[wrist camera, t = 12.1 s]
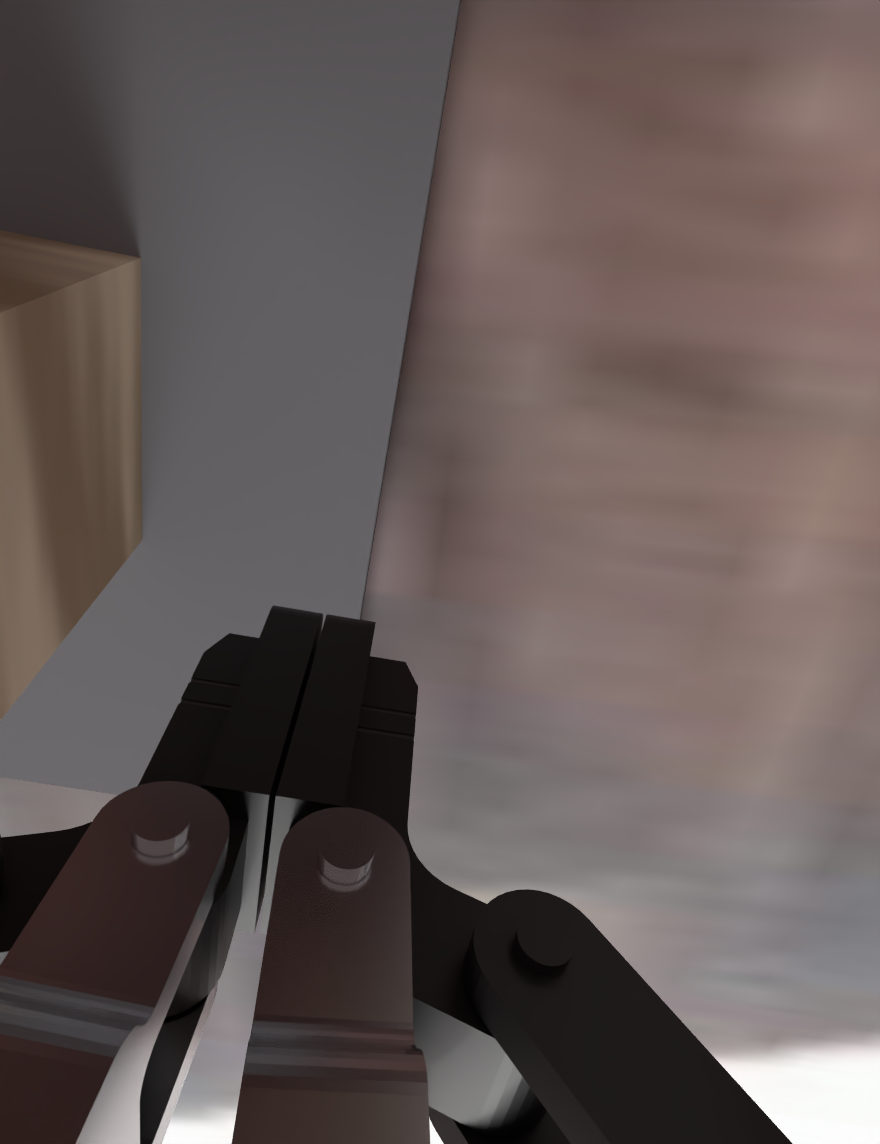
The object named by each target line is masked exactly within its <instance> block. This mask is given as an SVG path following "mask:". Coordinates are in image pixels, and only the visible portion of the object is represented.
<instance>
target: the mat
mask: <svg viewBox="0 0 880 1144" xmlns="http://www.w3.org/2000/svg"><path fill="white" fill-rule="evenodd" d="M460 4H461V0H0V230H2V231H7V232H12V233H18V234H23V235H28V236H33V237H38V238H43V239H48V240H53V241H58V242H63V243H68V244H73V245H78V246H83V247H88V248H94V249H99V250H104V251H109V252H114V253H119V254H124V255H129V256H134V257H139V258H141V408H142V541H141V542H140V543H139V545H138V546H137V547H136V549H135V550H134V551H133V552H132V554H131V555H130V556H129V557H128V559H127V560H126V561H125V563H124V564H123V565H122V566H121V568H120V569H119V570H118V571H117V573H116V574H115V575H114V577H113V578H112V579H111V580H110V582H109V583H108V584H107V585H106V587H105V588H104V589H103V591H102V592H101V593H100V594H99V596H98V597H97V598H96V599H95V601H94V602H93V603H92V605H91V606H90V607H89V608H88V610H87V611H86V612H85V613H84V615H83V616H82V617H81V619H80V620H79V621H78V622H77V624H76V625H75V626H74V628H73V629H72V630H71V631H70V633H69V634H68V635H67V636H66V638H65V639H64V640H63V642H62V643H61V644H60V645H59V647H58V648H57V649H56V650H55V652H54V653H53V654H52V656H51V657H50V658H49V659H48V661H47V662H46V663H45V664H44V666H43V667H42V668H41V670H40V671H39V672H38V673H37V675H36V676H35V677H34V678H33V680H32V681H31V682H30V684H29V685H28V686H27V687H26V689H25V690H24V691H23V692H22V694H21V695H20V696H19V698H18V699H17V700H16V701H15V703H14V704H13V705H12V706H11V708H10V709H9V710H8V712H7V713H6V714H5V715H4V717H3V718H2V719H1V720H0V777H4V778H11V779H17V780H24V781H31V782H37V783H44V784H50V785H57V786H64V787H70V788H77V789H83V790H90V791H97V792H103V793H110V794H116V795H119V794H121V793H123V792H125V791H127V790H129V789H131V788H134V787H137V786H138V784H139V782H140V780H141V778H142V776H143V774H144V772H145V770H146V768H147V766H148V764H149V762H150V760H151V758H152V756H153V754H154V752H155V750H156V748H157V746H158V744H159V742H160V740H161V738H162V736H163V734H164V732H165V730H166V728H167V726H168V724H169V722H170V720H171V718H172V716H173V714H174V712H175V710H176V708H177V706H178V704H180V702H181V697H182V695H183V693H184V691H185V689H186V687H187V685H188V683H189V682H191V677H192V675H193V673H194V671H195V669H196V667H197V665H198V663H199V661H200V659H201V657H202V655H203V653H204V652H205V651H206V650H207V649H209V648H210V647H211V646H213V645H214V644H215V643H217V642H218V641H219V640H221V639H222V638H223V637H225V636H226V635H227V634H229V633H232V634H238V635H244V636H250V637H256V638H259V637H260V635H261V632H262V630H263V627H264V625H265V622H266V620H267V617H268V615H269V612H270V610H271V608H272V606H273V605H275V606H281V607H287V608H293V609H299V610H305V611H311V612H316V613H322V614H323V624H322V628H323V625H324V621H325V618H326V615H327V614H329V615H335V616H341V617H347V618H353V619H359V620H360V619H361V613H362V607H363V600H364V594H365V588H366V582H367V576H368V570H369V564H370V557H371V551H372V545H373V539H374V533H375V527H376V520H377V514H378V508H379V502H380V496H381V490H382V484H383V477H384V471H385V465H386V459H387V453H388V447H389V441H390V434H391V428H392V422H393V416H394V410H395V404H396V398H397V391H398V385H399V379H400V373H401V367H402V361H403V355H404V348H405V342H406V336H407V330H408V324H409V318H410V312H411V305H412V299H413V293H414V287H415V281H416V275H417V268H418V262H419V256H420V250H421V244H422V238H423V232H424V225H425V219H426V213H427V207H428V201H429V195H430V189H431V182H432V176H433V170H434V164H435V158H436V152H437V146H438V139H439V133H440V127H441V121H442V115H443V109H444V103H445V96H446V90H447V84H448V78H449V72H450V66H451V60H452V53H453V47H454V41H455V35H456V29H457V23H458V17H459V10H460Z"/></svg>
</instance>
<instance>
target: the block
mask: <svg viewBox="0 0 880 1144" xmlns="http://www.w3.org/2000/svg"><path fill="white" fill-rule="evenodd" d="M141 541H142V408H141V258H139V257H134V256H129V255H124V254H119V253H114V252H109V251H104V250H99V249H94V248H88V247H83V246H78V245H73V244H68V243H63V242H58V241H53V240H48V239H43V238H38V237H33V236H28V235H23V234H18V233H12V232H7V231H2V230H0V720H1V719H2V718H3V717H4V715H5V714H6V713H7V712H8V710H9V709H10V708H11V706H12V705H13V704H14V703H15V701H16V700H17V699H18V698H19V696H20V695H21V694H22V692H23V691H24V690H25V689H26V687H27V686H28V685H29V684H30V682H31V681H32V680H33V678H34V677H35V676H36V675H37V673H38V672H39V671H40V670H41V668H42V667H43V666H44V664H45V663H46V662H47V661H48V659H49V658H50V657H51V656H52V654H53V653H54V652H55V650H56V649H57V648H58V647H59V645H60V644H61V643H62V642H63V640H64V639H65V638H66V636H67V635H68V634H69V633H70V631H71V630H72V629H73V628H74V626H75V625H76V624H77V622H78V621H79V620H80V619H81V617H82V616H83V615H84V613H85V612H86V611H87V610H88V608H89V607H90V606H91V605H92V603H93V602H94V601H95V599H96V598H97V597H98V596H99V594H100V593H101V592H102V591H103V589H104V588H105V587H106V585H107V584H108V583H109V582H110V580H111V579H112V578H113V577H114V575H115V574H116V573H117V571H118V570H119V569H120V568H121V566H122V565H123V564H124V563H125V561H126V560H127V559H128V557H129V556H130V555H131V554H132V552H133V551H134V550H135V549H136V547H137V546H138V545H139V543H140V542H141Z"/></svg>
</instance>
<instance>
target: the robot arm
mask: <svg viewBox="0 0 880 1144" xmlns="http://www.w3.org/2000/svg"><path fill="white" fill-rule="evenodd" d="M375 623H376V622H371V621H365V620H359V619H353V618H347V617H341V616H335V615H329V614H327V615H326V618H325V621H324V625H323V628H322V624H323V614H322V613H316V612H311V611H305V610H299V609H293V608H287V607H281V606H275V605H273V606H272V608H271V610H270V612H269V615H268V617H267V620H266V622H265V625H264V627H263V630H262V632H261V635H260V637H259V638H256V637H250V636H244V635H238V634H232V633H229V634H227V635H226V636H225V637H223V638H222V639H221V640H219V641H218V642H217V643H215V644H214V645H213V646H211V647H210V648H209V649H207V650H206V651H205V652H204V653H203V655H202V657H201V659H200V661H199V663H198V665H197V667H196V669H195V671H194V673H193V675H192V677H191V682H189V683H188V685H187V687H186V689H185V691H184V693H183V695H182V697H181V702H180V704H178V706H177V708H176V710H175V712H174V714H173V716H172V718H171V720H170V722H169V724H168V726H167V728H166V730H165V732H164V734H163V736H162V738H161V740H160V742H159V744H158V746H157V748H156V750H155V752H154V754H153V756H152V758H151V760H150V762H149V764H148V766H147V768H146V770H145V772H144V774H143V776H142V778H141V780H140V782H139V784H138V786H137V787H134V788H131V789H129V790H127V791H125V792H123V793H121V794H119V795H118V796H116V797H115V798H113V799H112V800H110V801H109V802H108V803H107V804H106V805H105V806H104V807H103V808H102V809H101V810H100V812H99V813H98V814H97V816H96V817H95V818H94V820H93V822H90V823H88V824H85V825H82V826H79V827H75V828H71V829H67V830H61V831H55V832H46V833H38V834H29V835H20V836H12V837H3V838H1V836H0V1144H162V1141H163V1139H164V1136H165V1133H166V1131H167V1128H168V1125H169V1122H170V1120H171V1117H172V1114H173V1111H174V1109H175V1106H176V1103H177V1100H178V1098H179V1095H180V1092H181V1090H182V1087H183V1084H184V1081H185V1079H186V1076H187V1073H188V1070H189V1068H190V1065H191V1062H192V1059H193V1057H194V1054H195V1051H196V1049H197V1046H198V1043H199V1040H200V1038H201V1035H202V1032H203V1029H204V1027H205V1024H206V1021H207V1018H208V1016H209V1013H210V1010H211V1008H212V1005H213V1002H214V999H215V996H216V992H217V985H218V980H219V978H220V976H221V974H222V971H223V968H224V965H225V961H226V958H227V954H228V951H229V947H230V944H231V940H232V937H233V933H234V931H240V932H247V933H255V929H256V925H257V921H258V917H259V913H260V910H261V906H262V902H263V898H264V903H263V912H262V921H261V930H260V934H264V935H266V942H265V948H264V954H263V961H262V967H261V973H260V980H259V986H258V992H257V999H256V1005H255V1012H254V1018H253V1024H252V1030H251V1036H250V1040H249V1042H248V1047H247V1053H246V1059H245V1065H244V1071H243V1077H242V1083H241V1089H240V1095H239V1102H238V1108H237V1114H236V1120H235V1127H234V1133H233V1139H232V1144H430V1130H429V1117H430V1120H431V1122H432V1124H433V1126H434V1128H435V1130H436V1131H437V1133H438V1135H439V1136H440V1138H441V1140H442V1141H443V1143H444V1144H792V1143H791V1142H790V1140H789V1139H788V1138H787V1137H786V1136H785V1135H784V1134H783V1133H782V1132H781V1130H780V1129H779V1128H778V1127H777V1126H776V1125H775V1124H774V1123H773V1122H772V1121H771V1119H770V1118H769V1117H768V1116H767V1115H766V1114H765V1113H764V1112H763V1111H762V1110H761V1108H760V1107H759V1106H758V1105H757V1104H756V1103H755V1102H754V1101H753V1100H752V1099H751V1097H750V1096H749V1095H748V1094H747V1093H746V1092H745V1091H744V1090H743V1089H742V1088H741V1086H740V1085H739V1084H738V1083H737V1082H736V1081H735V1080H734V1079H733V1078H732V1077H731V1075H730V1074H729V1073H728V1072H727V1071H726V1070H725V1069H724V1068H723V1067H722V1066H721V1064H720V1063H719V1062H718V1061H717V1060H716V1059H715V1058H714V1057H713V1056H712V1055H711V1053H710V1052H709V1051H708V1050H707V1049H706V1048H705V1047H704V1046H703V1045H702V1044H701V1042H700V1041H699V1040H698V1039H697V1038H696V1037H695V1036H694V1035H693V1034H692V1032H691V1031H690V1030H689V1029H688V1028H687V1027H686V1026H685V1025H684V1024H683V1023H682V1021H681V1020H680V1019H679V1018H678V1017H677V1016H676V1015H675V1014H674V1013H673V1012H672V1010H671V1009H670V1008H669V1007H668V1006H667V1005H666V1004H665V1003H664V1002H663V1001H662V999H661V998H660V997H659V996H658V995H657V994H656V993H655V992H654V991H653V990H652V988H651V987H650V986H649V985H648V984H647V983H646V982H645V981H644V980H643V979H642V977H641V976H640V975H639V974H638V973H637V972H636V971H635V970H634V969H633V968H632V966H631V965H630V964H629V963H628V962H627V961H626V960H625V959H624V958H623V957H622V955H621V954H620V953H619V952H618V951H617V950H616V949H615V948H614V947H613V946H612V944H611V943H610V942H609V941H608V940H607V939H606V938H605V937H604V936H603V934H602V933H601V932H600V931H599V930H598V929H597V928H596V927H595V926H594V925H593V923H592V922H591V921H590V920H589V919H588V918H587V917H586V916H585V915H584V914H583V913H582V912H581V911H580V910H578V909H577V908H576V907H574V906H573V905H571V904H570V903H568V902H567V901H565V900H563V899H561V898H559V897H557V896H554V895H552V894H549V893H546V892H542V891H537V890H515V891H510V892H506V893H504V894H502V895H499V896H497V897H496V898H494V899H493V900H491V901H490V902H489V903H488V904H486V903H483V902H481V901H479V900H477V899H475V898H473V897H470V896H468V895H466V894H464V893H462V892H460V891H457V890H455V889H453V888H452V887H450V886H448V885H446V884H444V883H443V882H441V881H440V880H439V879H437V878H436V877H435V876H433V875H432V874H431V873H430V872H429V871H428V870H427V869H426V868H425V867H424V866H423V864H422V863H421V862H420V861H419V859H418V858H417V856H416V854H415V852H414V851H413V848H412V846H411V843H410V841H409V836H408V825H407V822H408V809H409V797H410V784H411V771H412V758H413V745H414V741H413V740H414V733H415V720H416V718H415V716H416V707H417V694H418V686H417V684H416V682H415V680H414V678H413V676H412V674H411V672H410V670H409V668H408V666H407V664H406V662H401V661H395V660H389V659H383V658H377V657H371V656H370V651H371V646H372V640H373V634H374V629H375ZM264 894H265V895H264Z"/></svg>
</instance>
